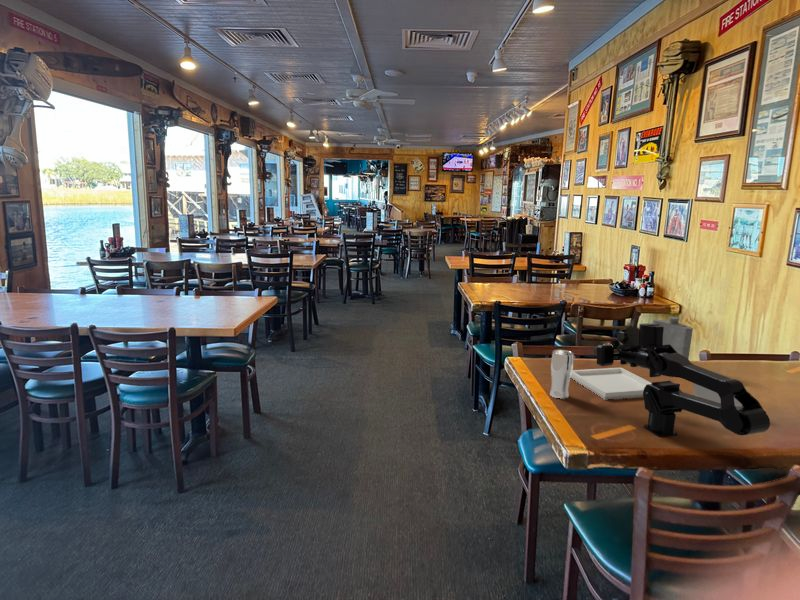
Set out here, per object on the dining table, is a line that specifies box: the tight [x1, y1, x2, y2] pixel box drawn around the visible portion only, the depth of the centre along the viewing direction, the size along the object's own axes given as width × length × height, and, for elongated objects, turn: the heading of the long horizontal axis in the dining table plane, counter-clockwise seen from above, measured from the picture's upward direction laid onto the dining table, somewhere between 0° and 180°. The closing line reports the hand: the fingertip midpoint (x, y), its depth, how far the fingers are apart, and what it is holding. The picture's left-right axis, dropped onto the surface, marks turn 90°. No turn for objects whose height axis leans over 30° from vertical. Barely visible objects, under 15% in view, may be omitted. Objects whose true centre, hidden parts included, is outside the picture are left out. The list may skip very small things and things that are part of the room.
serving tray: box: [571, 367, 652, 401], centre depth 179 cm, size 22×22×2 cm
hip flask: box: [651, 316, 694, 360], centre depth 200 cm, size 16×4×20 cm, turn 29°
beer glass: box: [549, 349, 574, 400], centre depth 167 cm, size 7×7×15 cm
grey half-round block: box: [693, 383, 743, 406], centre depth 162 cm, size 17×5×10 cm, turn 22°
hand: (605, 349), depth 165 cm, fingers open, 9 cm apart
